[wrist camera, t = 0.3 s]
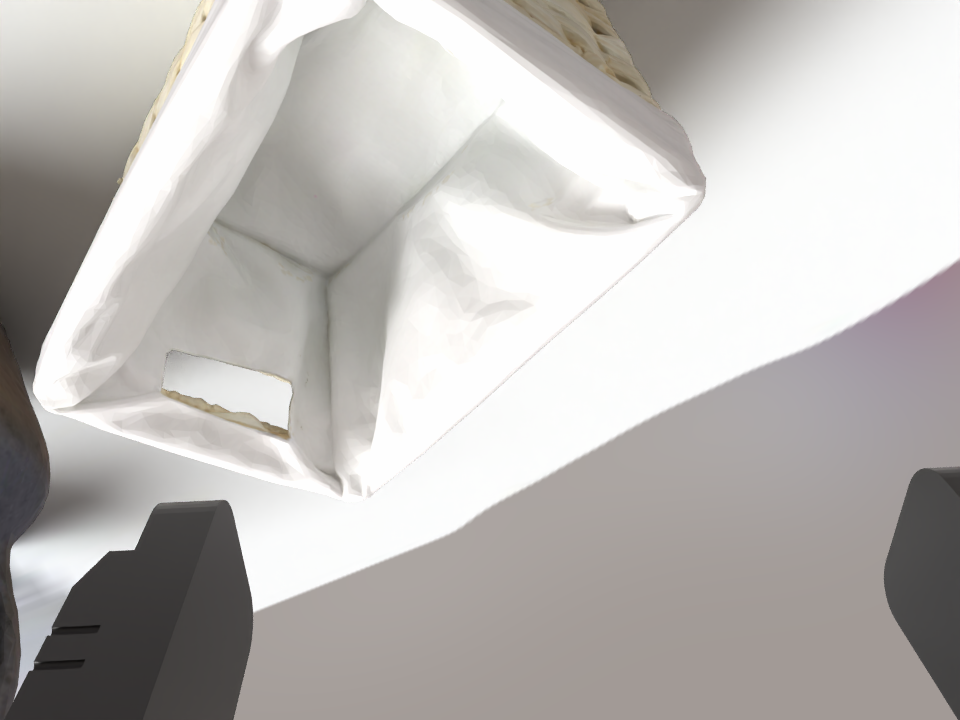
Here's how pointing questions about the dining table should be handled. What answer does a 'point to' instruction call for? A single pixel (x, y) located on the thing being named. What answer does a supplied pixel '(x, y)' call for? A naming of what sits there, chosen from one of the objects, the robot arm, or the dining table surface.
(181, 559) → the robot arm
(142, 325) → the storage basket
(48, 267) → the dining table surface
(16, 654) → the pitcher
